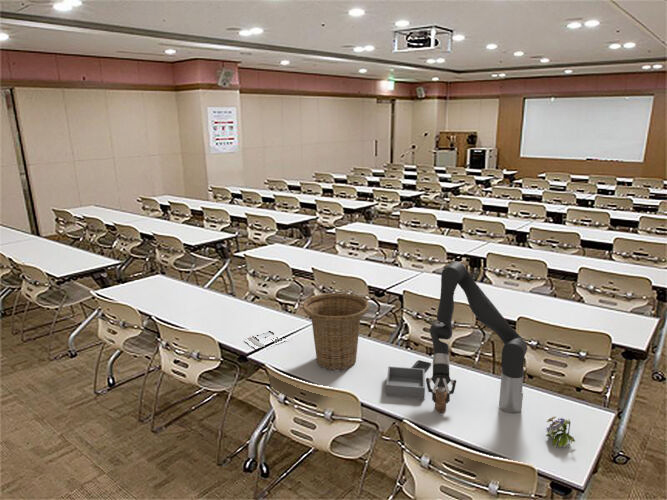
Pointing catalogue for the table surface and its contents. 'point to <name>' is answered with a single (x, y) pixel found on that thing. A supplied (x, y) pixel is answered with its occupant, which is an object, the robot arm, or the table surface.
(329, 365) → the wicker basket
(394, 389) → the bin
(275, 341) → the office telephone
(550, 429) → the passion flower
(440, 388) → the pepper mill
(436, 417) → the table surface
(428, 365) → the phone
